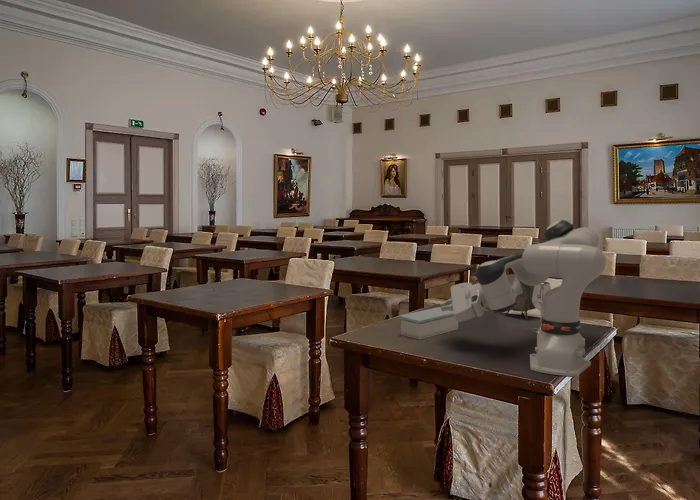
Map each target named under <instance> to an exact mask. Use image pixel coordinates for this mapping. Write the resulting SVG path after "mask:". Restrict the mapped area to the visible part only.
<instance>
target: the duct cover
mask: <svg viewBox="0 0 700 500" xmlns="http://www.w3.org/2000/svg"><path fill="white" fill-rule="evenodd" d="M449 316H453V311H448V310H446V311H442V310H441V306H438V307H433V308H429V309H424V310H423V309H422V310H420V311H414V312H410V313H406V314H405V313H404V314H402V315H398V318H399V319H400V320H403V319H404V320H408V321H411V322H415V323H424V322H428V321H432V320H436V319H440V318H445V317H449Z"/></svg>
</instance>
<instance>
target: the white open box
mask: <svg viewBox="0 0 700 500" xmlns="http://www.w3.org/2000/svg"><path fill="white" fill-rule="evenodd" d="M456 330H459V322H457V321H456V320H455V318H454V315H453V316H449V317H445V318H440V319H436V320H432V321H428V322H424V323H415V322H411V321H408V320H404V319H400V335H401V336H405V337H409V338H413V339H417V340H423V339H427V338H430V337H434V336H437V335H441V334H445V333H450V332H452V331H453V332H454V331H456Z"/></svg>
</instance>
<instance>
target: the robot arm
mask: <svg viewBox="0 0 700 500" xmlns="http://www.w3.org/2000/svg"><path fill="white" fill-rule="evenodd" d="M543 235H544V237H545V240H546V241H545V242H540V243H535V244H529V245H527V246H526V248H525V249H524V251H523V252H519V253H513V254H510V255H507V256H504V257H501V258H498V259H494V260H489V261H485V262H482V263H481V264H479V265H478V266H477V269H476V270H475V274H474V276H475V278H476V279H477V282H478V283H476V284H475V283H472V282H462V283H458V284H453V285H451V286H450V288H449V289H450V295H451V296H450V297H451V298H448V299H447V300H445V301H444V302H441V303H440V307H441V310H442V311H446V310H448V311H453V315H454V318H455V320H456V321H457V322H458V323H462V322H466V321H469V320H473V319H475V318H476V317H479V318H480V317H483V315H484V313H485V310H486V308H487V307H488V308H489V309H490V311H492V312H493V313H496V314H503V313H506V312H508V311H509V312H511V311H513V310H512V308H513V307H514V305H515V299H516V297H517V296H518V295H520V294H522V292H523V288H522V285H521V282H522V283H524V284H526V285H529V286H537V285H539V284H542V283H543V282H547V280H548V279H550V278H551V277H552V278H560V279H561V284H560V285H559V286H555V287H553V288H551V290H549V291H548V292H546V294H545V295H544V298H543V317H542V319H541V318H540V325H541V331H540V332H539V333H536V346H535V347H534V349H533V350H534V351H535V352H536V353H530V354H529V366H530V370H531V371H534V372H537V373H543V374H548V375H554V376H555V375H557V376H564V377H565V376H566V377H578V376H579V375H580V374H582V373H583V372H584V371H586V370H587V369H588V368H589V367H591V365H592V363H591V361H590V360H588V359H586V339H585V337H583V335H581V333H580V332H581V328H582V327H581V326H582V324H581V320H580V307H581V300H582V295H583V292H584V291H585V289H586V288H587V287H588V285H589V284H590V283H592V282H593V281H594V280H595V279H597V278H599V277H600V276H601V275H602V274H603V272H604V271H605V268H606V264H607V263H606V262H607V261H606V256H605V254H604V252H603V250H601V249H600V248H599V244H600V238H599V235H598V233H597V232H596V230H594V229H592V228H590V227H586V226H583V227H578V228H575V226H574V224H573V223H570V222H569V221H568V220H565V219H562V220H557V221H554V222H552V223H550V225H548V226H547V228H546V229H545V231H544V233H543ZM507 269H511V270H512V272H513V273H510V274H507ZM520 281H521V282H520Z"/></svg>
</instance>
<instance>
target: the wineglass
mask: <svg viewBox="0 0 700 500" xmlns="http://www.w3.org/2000/svg"><path fill="white" fill-rule="evenodd" d="M551 289H552V287H551V283H550V282H548V281H545V282H543V283H542V284H539V285H537V286H534V289H533V294H532V303H533V305H534V307H535V308H536V310H538V311H539V312H540V320H541V319H542V317H543V298H544V295H545V294H546V292H548V291H549V290H551ZM540 331H541V324H540V326H539V328H537V327H536V328H532V329H531V332H533V333H536V334H537V333H539V332H540Z"/></svg>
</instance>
